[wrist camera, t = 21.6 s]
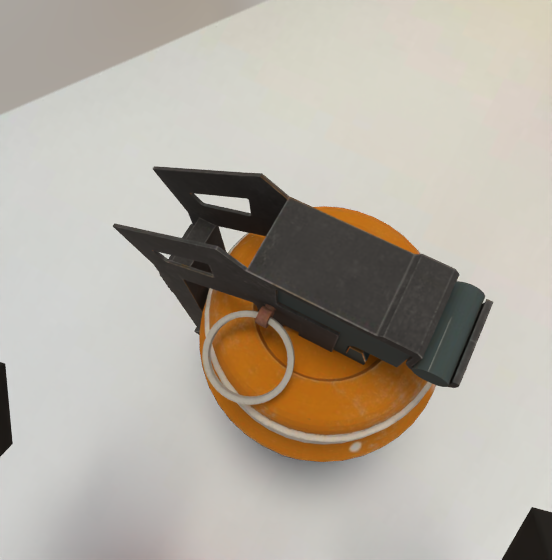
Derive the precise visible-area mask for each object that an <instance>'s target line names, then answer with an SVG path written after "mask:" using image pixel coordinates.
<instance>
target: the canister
mask: <svg viewBox="0 0 552 560" xmlns="http://www.w3.org/2000/svg"><path fill="white" fill-rule="evenodd" d="M153 170H154V171H155V172H156V174H157V175H158V176H159V177H160V179H161V180H162V181H163V182H164V183H165V185H166V186H167V187H168V188H169V190H170V191H171V192H172V193H173V194H174V196H175V197H176V198H177V199H178V201H179V202H180V203H181V204H182V205H183V207H184V208H185V209H186V210H187V211H188V213H189V216H190V218H191V221H192V223H193V224H191V225H190V226H189V228H188V229H187V231H186V233H185V234H184V236H183V237H182V238H178V237H174V236H169V235H165V234H160V233H155V232H151V231H146V230H142V229H137V228H133V227H128V226H123V225H119V224H114V225H113V227H114V228H115V229H116V230H117V231H118V232H119V233H121V234H122V235H123V236H124V237H125V238H126V239H127V240H128V241H129V242H130V243H131V244H132V245H133V246H135V247H136V248H137V249H138V250H139V251H140V252H141V253H142V254H143V255H144V256H145V257H146V258H147V259H149V260H150V261H151V262H152V263H153V264H154V265H155V267H156V268H157V270H158V271H159V273H160V276H161V277H162V278H163V280H164V281H165V283H166V284H167V285H168V287H169V288H170V290H171V291H172V292H173V293H174V294H175V296H176V297H177V299H178V300H179V302H180V303H181V304H182V306H183V307H184V309H185V310H186V312H187V313H188V315H189V316H190V317H191V319H192V320H193V322H194V323H195V325H196V326H197V327H196V329H195V331H194V332H196V333H198V334H199V335H200V355H201V360H202V366H203V370H204V373H205V376H206V379H207V382H208V385H209V388H210V389H211V391H212V393H213V395H214V397H215V399H216V401H217V402H218V404H219V406H220V407H221V408H222V410H223V411H224V412H225V413H226V415H227V416H228V417H229V419H230V420H231V421H232V422H233V423H234V424H235V425H236V426H237V427H238V428H239V429H240V430H242V431H243V432H244V433H245V434H246V435H247V436H249V437H250V438H252V439H253V440H255V441H256V442H258V443H259V444H261V445H262V446H264V447H266V448H268V449H271V450H273V451H275V452H277V453H279V454H281V455H284V456H287V457H291V458H294V459H300V460H308V461H318V462H328V461H343V460H347V459H351V458H355V457H360V456H363V455H366V454H368V453H370V452H373V451H375V450H377V449H380V448H382V447H383V446H385V445H387V444H388V443H390V442H391V441H393V440H394V439H396V438H397V437H399V436H400V435H401V434H402V433H403V432H404V431H405V430H406V429H407V428H409V427H410V426H411V425H412V424H413V423H414V421H415V420H416V419H417V418H418V416H419V415H420V414H421V412H422V411H423V410H424V408H425V407H426V405H427V403H428V401H429V399H430V397H431V396H432V394H433V392H434V389H435V386H436V385H438V386H442V387H452V388H456V387H459V385H460V383H461V380H462V378H463V375H464V373H465V370H466V368H467V365H468V363H469V360H470V358H471V356H472V353H473V351H474V348H475V346H476V343H477V341H478V338H479V336H480V333H481V331H482V328H483V326H484V324H485V321H486V319H487V316H488V314H489V311H490V309H491V306H492V304H493V301H490V300H488V299H486V302H485V303H483V300H484V298H485V295H484V293H483V292H482V291H481V290H480V289H478V288H477V287H475V286H473V285H471V284H468V283H465V282H457V279H458V276H459V273H458V272H457V270H456V269H455V268H452V267H450V266H448V265H446V264H444V263H441V262H439V261H437V260H435V259H433V258H430V257H428V256H426V255H424V254H420V252H419V251H418V250H417V249H416V248H415V247H414V246H413V245H412V244H411V243H410V242H409V241H408V240H407V239H406V238H405V237H404V236H403V235H402V234H400V233H399V232H397V231H396V230H395V229H393V228H392V227H391V226H389V225H387V224H386V223H384V222H382V221H380V220H378V219H376V218H374V217H372V216H369V215H366V214H364V213H361V212H358V211H354V210H349V209H345V208H338V207H311V206H309V205H307V204H305V203H302V202H300V201H298V200H296V199H294V198H292V197H289V196H288V195H287V194H286V193H285V192H283V191H282V190H281V189H280V188H279V187H277V186H276V185H275V184H274V183H273V182H271V181H270V180H269V179H268V178H267V177H266V176H264V175H263V174H260V173H241V172H227V171H212V170H198V169H183V168H169V167H155V166H154V168H153ZM194 193H196V194H207V195H217V196H227V197H238V198H247V199H249V203H250V210H251V213H246V212H242V211H237V210H233V209H228V208H224V207H219V206H215V205H210V204H206V203H203V202H202V201H201V200H200V199H199V198H198V197H197V196H196V195H195V194H194ZM218 226H220V227H225V228H229V229H234V230H239V231H243V232H248V233H247V234H246V235H244V236H243V237H242V238H241V239H240V240H239V241H238V242H237V243H236V244H235V245H234V246H233V247H232V248H231V249H230V251H229V252H228V253H227V252H226V250H225V247H224V243H223V240H222V237H221V233H220V230H219V227H218ZM159 252H161V253H165V254H169V255H171V256H170V257H169V259H167V258H165V257H164V256H163V255H162V254H160V253H159ZM482 303H483V304H482Z"/></svg>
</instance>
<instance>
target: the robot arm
mask: <svg viewBox="0 0 552 560" xmlns="http://www.w3.org/2000/svg"><path fill="white" fill-rule="evenodd" d="M12 444H13V443H12V432H11V422H10V411H9V400H8V389H7V378H6V367H5V363H1V362H0V456H1V455H2V454H3V453H4V452H5V451H6V450H7V449H8V448H9V447H10V446H11V445H12ZM502 560H552V512H548V511H544V510H541V509H537V508H533V507H532V508H531V510H530V511H529V513H528V515H527V517H526V518H525V520H524V522H523V524H522V525H521V527H520V529H519V531H518V532H517V534H516V536H515V537H514V539H513V541H512V543H511V544H510V546H509V548H508V550H507V551H506V553H505V555H504V557H503V558H502Z"/></svg>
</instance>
